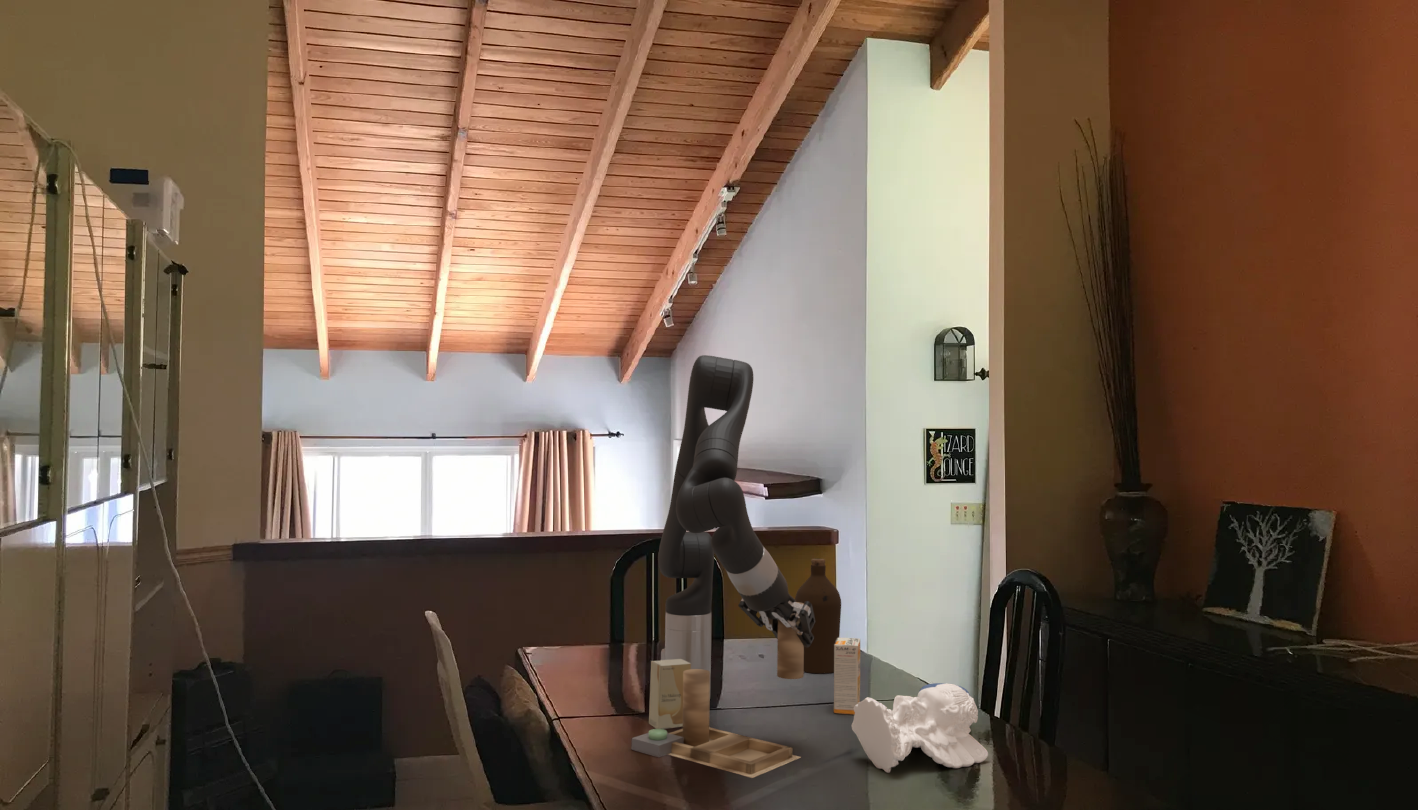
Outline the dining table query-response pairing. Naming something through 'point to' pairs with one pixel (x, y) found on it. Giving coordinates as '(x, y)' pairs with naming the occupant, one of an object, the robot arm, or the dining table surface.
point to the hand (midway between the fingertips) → (796, 640)
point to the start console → (655, 742)
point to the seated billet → (696, 706)
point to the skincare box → (667, 693)
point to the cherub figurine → (920, 728)
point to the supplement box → (846, 675)
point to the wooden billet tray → (735, 753)
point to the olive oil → (821, 619)
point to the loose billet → (789, 653)
